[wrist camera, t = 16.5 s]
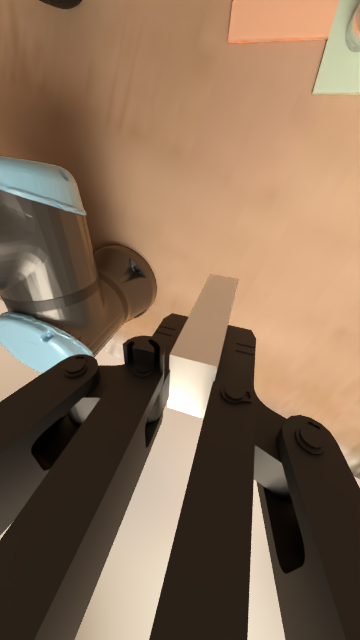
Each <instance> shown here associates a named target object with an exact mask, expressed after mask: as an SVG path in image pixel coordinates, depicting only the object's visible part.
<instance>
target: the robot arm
mask: <svg viewBox="0 0 360 640" xmlns="http://www.w3.org/2000/svg"><path fill="white" fill-rule="evenodd" d="M85 215H87V213H86V211H85V210H84V208H83V205H82V201H81V197H80V194H79V190H78V186H77V183H76V181H75V179H74V177H73V176H72V175H71V173H70V172H68V171H67V170H66V169H64V168H62V167H60V166H58V165H54V164H49V163H43V162H38V161H32V160H25V159H19V158H12V157H5V156H0V295H1V297H2V299H3V301H4V303H5V305H6V307H7V309H8V312H5V313H2V314H1V315H0V343H1V344H2V345H3V346H4V347H5V348H6V349H7V350H8V351H9V352H10V353H11V354H12V355H13V356H14V357H16V358H17V359H18V360H20V361H21V362H23V363H24V364H26V365H27V366H29V367H31V368H32V369H34V370H36V371H38V372H41V373H42V374H41V375H40V376H38V377H37V378H35V379H34V380H32V381H31V382H29V383H28V384H26V385H25V386H23V387H22V388H20V389H19V390H17V391H16V392H14V393H13V394H11V395H10V396H8V397H7V398H5V399H4V400H2V401H1V402H0V535H1V534H2V533H3V532H4V531H5V530H6V529H7V527H8V526H9V525H10V524H11V523H12V522H13V523H12V524H11V526H10V527H9V529H8V530H7V531H6V533H5V534H4V535H3V537H2V538H1V540H0V640H74V639H75V637H76V634H77V632H78V629H79V627H80V624H81V622H82V619H83V617H84V614H85V612H86V609H87V607H88V604H89V602H90V600H91V597H92V595H93V592H94V589H95V587H96V585H97V582H98V580H99V577H100V575H101V572H102V569H103V567H104V565H105V562H106V559H107V557H108V555H109V552H110V549H111V547H112V545H113V542H114V540H115V537H116V535H117V532H118V529H119V527H120V525H121V522H122V520H123V517H124V515H125V512H126V510H127V507H128V505H129V502H130V500H131V497H132V495H133V492H134V490H135V487H136V485H137V482H138V480H139V477H140V475H141V472H142V470H143V467H144V465H145V462H146V460H147V457H148V455H149V452H150V450H151V447H152V445H153V442H154V439H155V437H156V435H157V432H158V430H159V427H160V425H161V422H162V418H163V410H164V407H165V405H166V403H167V400H168V403H167V407H168V408H172V409H175V410H178V411H181V412H184V413H187V414H191V415H194V416H197V417H200V418H203V419H204V420H203V424H202V428H201V432H200V436H199V440H198V444H197V448H196V452H195V456H194V460H193V464H192V468H191V472H190V476H189V481H188V484H187V489H186V493H185V497H184V501H183V505H182V509H181V513H180V517H179V521H178V525H177V529H176V533H175V537H174V542H173V545H172V549H171V554H170V558H169V562H168V566H167V570H166V574H165V578H164V582H163V586H162V590H161V594H160V598H159V602H158V606H157V610H156V614H155V619H154V623H153V627H152V631H151V635H150V639H149V640H247V632H248V607H249V582H250V556H251V530H252V505H253V480H256V481H257V486H258V492H259V497H260V502H261V508H262V513H263V519H264V524H265V530H266V535H267V540H268V546H269V552H270V557H271V562H272V568H273V574H274V579H275V584H276V590H277V595H278V601H279V606H280V612H281V617H282V623H283V628H284V633H285V639H286V640H360V488H359V486H358V484H357V482H356V480H355V478H354V476H353V474H352V472H351V470H350V468H349V466H348V464H347V462H346V460H345V458H344V456H343V454H342V452H341V450H340V448H339V446H338V443H337V442H336V440H335V439H334V437H333V436H332V434H331V433H330V432H329V431H328V430H327V429H326V428H325V427H324V426H323V425H322V424H321V423H319V422H317V421H315V420H313V419H312V418H309V417H305V416H301V415H297V416H291V417H289V418H288V419H286V418H284V417H282V416H281V415H279V414H277V413H276V412H274V411H272V410H271V409H269V408H268V407H266V406H265V405H264V404H263V403H262V402H261V401H260V400H259V398H258V397H257V395H256V393H255V390H254V366H255V347H256V338H255V336H254V334H253V332H252V331H251V330H248V329H244V328H239V327H235V326H230V325H228V323H229V319H230V314H231V310H232V306H233V301H234V297H235V292H236V288H237V284H238V279H235V278H230V277H224V276H219V275H213V274H210V276H209V278H208V280H207V282H206V284H205V286H204V288H203V290H202V292H201V294H200V296H199V297H198V299H197V301H196V303H195V305H194V307H193V309H192V311H191V313H190V315H189V317H186V316H182V315H177V314H173V313H172V314H170V315H169V316H167V317H165V318H164V319H163V321H162V322H161V324H160V325H159V327H158V328H157V330H156V331H155V333H154V334H153V336H152V337H151V336H137V337H133V338H131V339H129V340H127V341H126V342H125V343H124V344H123V351H124V360H125V364H124V365H117V366H98V363H97V360H96V359H95V358H94V357H95V356H96V355H97V354H98V353H99V351H100V350H101V349H102V348H103V347H104V346H105V345H106V343H107V342H108V341H109V340H110V339H111V338H112V336H113V335H114V334H115V333H116V332H117V331H118V329H119V328H120V327H121V326H122V325H123V324H124V323H125V322H128V321H130V320H132V319H133V318H136V317H139V316H141V315H142V314H144V313H145V312H146V311H147V310H148V309H149V308H150V306H151V305H152V304H153V302H154V300H155V297H156V292H157V286H156V280H155V277H154V274H153V272H152V270H151V268H150V267H149V265H148V264H147V263H146V261H145V260H144V259H143V258H142V257H141V256H140V255H139V254H137V253H136V252H134V251H133V250H131V249H129V248H127V247H124V246H120V245H108V246H105V247H102V248H100V249H98V250H96V251H95V252H93V248H92V244H91V239H90V235H89V230H88V226H87V221H86V217H85Z"/></svg>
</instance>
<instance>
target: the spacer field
mask: <svg viewBox="0 0 360 640" xmlns="http://www.w3.org/2000/svg"><path fill="white" fill-rule="evenodd" d="M359 4H360V0H339V3H338V6H337V10H336V13H335V17H334V20H333V24H332V27H331V31H330V34H329V37H328V39H327V43H326V46H325V50H324V53H323V57H322V60H321V64H320V67H319V71H318V74H317V78H316V82H315V85H314V89H313V92H312V94H317V95H360V52H352V51H350V50H349V49H348V47H347V45H346V41H345V35H346V30H347V26H348V24H349V22H350V20H351V18H352V16H353V14H354V13H355V11H356V9H357V8H358V6H359Z"/></svg>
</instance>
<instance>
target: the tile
mask: <svg viewBox="0 0 360 640" xmlns="http://www.w3.org/2000/svg"><path fill="white" fill-rule="evenodd" d="M338 3H339V0H233V2H232V10H231V19H230V27H229V36H228V43H249V42H275V41H300V40H325V39H328V37H329V34H330V31H331V27H332V24H333V20H334V17H335V13H336V10H337V6H338Z"/></svg>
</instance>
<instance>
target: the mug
mask: <svg viewBox="0 0 360 640" xmlns="http://www.w3.org/2000/svg"><path fill="white" fill-rule="evenodd" d="M40 1H42V2H44V3H46V4H49V5H51V6H54V7H57V8H62V9H69V8H73V7H75V6H77V5H78V4H79V3H80V2H81V1H82V0H40Z"/></svg>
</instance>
